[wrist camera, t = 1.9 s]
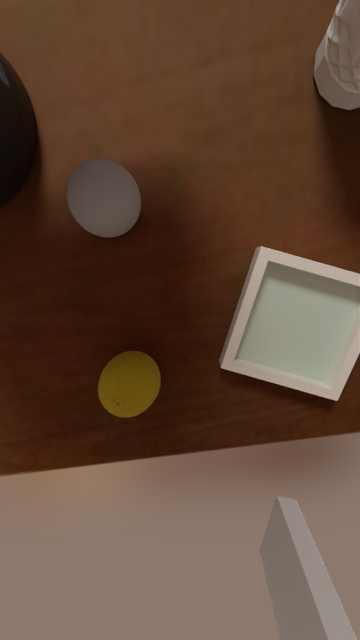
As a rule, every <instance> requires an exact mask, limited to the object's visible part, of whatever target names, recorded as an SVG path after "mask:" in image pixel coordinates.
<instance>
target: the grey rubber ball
mask: <svg viewBox="0 0 360 640" xmlns="http://www.w3.org/2000/svg"><path fill="white" fill-rule="evenodd" d="M67 202H68V206H69V208H70V211H71V213H72V215H73V217H74V218H75V220H76V221H77V222H78V223H79V224H80V225H81V226H82V227H83V228H84V229H85V230H87V231H88V232H90V233H92V234H94V235H97V236H100V237H108V238H109V237H116V236H119V235H122V234H124V233H126V232H127V231H129V230H130V229H131V228H132V227H133V226H134V224H135V223H136V221H137V219H138V217H139V214H140V210H141V196H140V191H139V188H138V186H137V183H136V181H135V180H134V178H133V176H132V175H131V174H130V173H129V172H128V171H127V170H126V169H125V168H124V167H123V166H121V165H120V164H118V163H116V162H114V161H111V160H108V159H102V158H96V159H91V160H88V161H85V162H83V163H82V164H80V165H79V166H78V167H77V168H76V169H75V170H74V171H73V173H72V174H71V176H70V178H69V181H68V185H67Z"/></svg>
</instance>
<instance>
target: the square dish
mask: <svg viewBox="0 0 360 640" xmlns="http://www.w3.org/2000/svg"><path fill="white" fill-rule="evenodd" d="M359 353H360V274H358V273H354V272H351V271H347V270H344V269H340V268H336V267H333V266H329V265H326V264H322V263H319V262H315V261H312V260H308V259H305V258H301V257H298V256H294V255H291V254H287V253H283V252H280V251H276V250H273V249H269V248H266V247H262V246H260V247H257V248H256V249H255V252H254V255H253V258H252V261H251V264H250V267H249V270H248V273H247V276H246V280H245V283H244V286H243V289H242V292H241V295H240V298H239V301H238V304H237V307H236V310H235V313H234V316H233V319H232V322H231V325H230V328H229V331H228V334H227V337H226V340H225V343H224V346H223V349H222V352H221V355H220V358H219V364H220V368H222V369H226V370H229V371H233V372H236V373H240V374H244V375H247V376H251V377H254V378H258V379H261V380H265V381H268V382H272V383H275V384H279V385H282V386H286V387H289V388H293V389H297V390H300V391H304V392H307V393H311V394H314V395H318V396H321V397H325V398H328V399H332V400H335V401H338V399H339V397H340V394H341V392H342V390H343V388H344V386H345V384H346V381H347V379H348V377H349V375H350V373H351V370H352V368H353V366H354V364H355V362H356V360H357V357H358V355H359Z"/></svg>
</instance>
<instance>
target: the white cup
mask: <svg viewBox="0 0 360 640" xmlns="http://www.w3.org/2000/svg"><path fill="white" fill-rule="evenodd" d="M314 79H315V82H316V85H317V88H318V91H319V94H320V95H321V96H322V97H323V98H324V99H325V100H326V101H327V102H328V103H329V104H330V105H331V106H333V107H338V108H342V109H346V110H352V109H356V108H360V0H340V1H339V3H338V5H337V7H336V9H335V13H334V16H333V19H332V21H331V23H330V25H329V28H328V30H327V32H326V34H325V36H324V38H323V40H322V42H321V44H320V45H319V47H318V49H317V51H316V55H315V65H314Z"/></svg>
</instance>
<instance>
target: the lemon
mask: <svg viewBox="0 0 360 640" xmlns="http://www.w3.org/2000/svg"><path fill="white" fill-rule="evenodd" d="M160 385H161V375H160V371H159V367H158V366H157V364H156V362H155V361H154V360H153V359H152V358H151V357H150V356H149V355H147V354H146V353H143V352H140V351H126V352H123V353H121V354H118V355H117V356H115V357H114V358H113V359H111V360H110V361H109V362H108V364H107V365H106V366H105V368H104V369H103V371H102V373H101V376H100V379H99V383H98V394H99V399H100V401H101V403H102V405H103V406H104V408H105V409H106V410H107V411H108V412H110V413H111V414H113V415H115V416H118V417H127V418H128V417H133V416H137V415H139V414H141V413H142V412H144V411H145V410H146V409H147V408H148V407H150V406H151V404H152V403H153V402H154V400H155V398H156V397H157V395H158V392H159V389H160Z"/></svg>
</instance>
